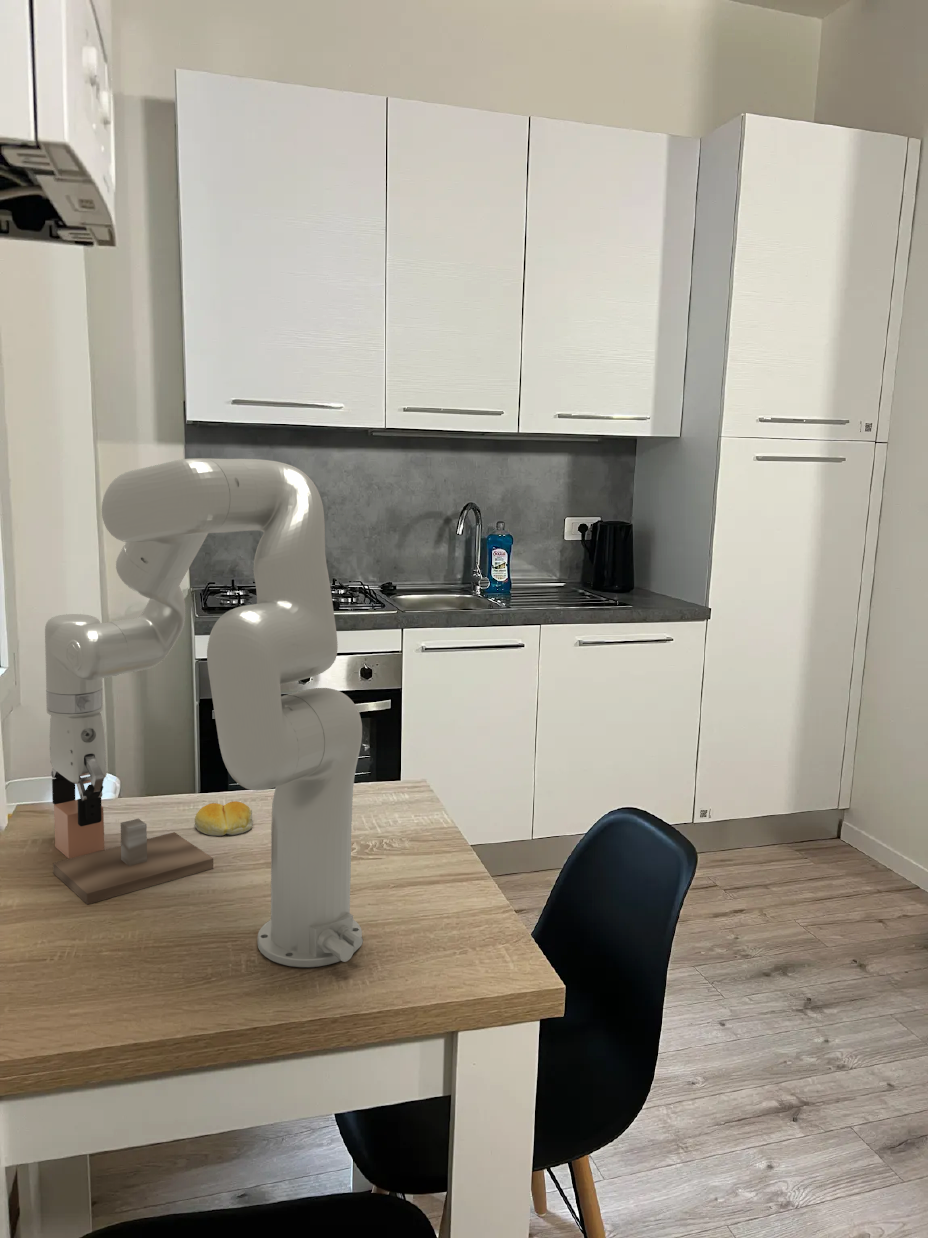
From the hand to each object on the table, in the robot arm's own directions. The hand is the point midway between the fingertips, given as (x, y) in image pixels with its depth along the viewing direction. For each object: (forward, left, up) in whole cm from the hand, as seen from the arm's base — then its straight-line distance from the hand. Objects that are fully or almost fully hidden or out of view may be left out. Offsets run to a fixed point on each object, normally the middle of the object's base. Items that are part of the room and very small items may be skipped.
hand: (76, 813), depth 140 cm
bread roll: (-6, -21, -6) cm, 23 cm away
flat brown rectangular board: (-13, -3, -5) cm, 14 cm away
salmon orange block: (-1, 0, -5) cm, 5 cm away
